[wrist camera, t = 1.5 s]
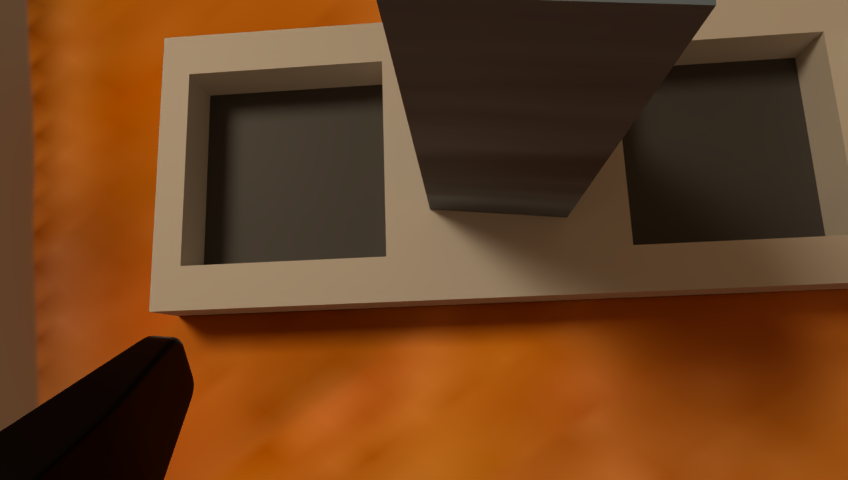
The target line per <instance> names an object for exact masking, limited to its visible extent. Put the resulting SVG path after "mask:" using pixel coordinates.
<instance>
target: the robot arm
mask: <svg viewBox="0 0 848 480" xmlns="http://www.w3.org/2000/svg"><path fill="white" fill-rule="evenodd" d="M193 389H194V382H193V376H192V373H191V370H190V366H189V363H188V360H187V357H186V353H185V350H184V347H183V344H182V342H181V341H180V340H179V339H177V338H175V337H163V336H148V337H146V338H144V339H142V340H140V341H139V342H137V343H136V344H134V345H133V346H131V347H130V348H128V349H127V350H125V351H124V352H122V353H120V354H119V355H117V356H116V357H114V358H113V359H111V360H110V361H108V362H107V363H105V364H103V365H102V366H100V367H99V368H97V369H96V370H94V371H93V372H91V373H90V374H88V375H87V376H85V377H83V378H82V379H80V380H79V381H77V382H76V383H74V384H73V385H71V386H70V387H68V388H66V389H65V390H63V391H62V392H60V393H59V394H57V395H56V396H54V397H53V398H51V399H50V400H48V401H46V402H45V403H43V404H42V405H40V406H39V407H37V408H36V409H34V410H33V411H31V412H30V413H28V414H26V415H25V416H23V417H22V418H20V419H19V420H17V421H16V422H14V423H13V424H11V425H9V426H8V427H6V428H5V429H3V430H2V431H0V480H164V478H165V475H166V472H167V469H168V466H169V463H170V460H171V457H172V454H173V451H174V448H175V445H176V442H177V439H178V437H179V434H180V431H181V428H182V425H183V422H184V419H185V416H186V413H187V410H188V407H189V404H190V401H191V398H192V395H193Z"/></svg>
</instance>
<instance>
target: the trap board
mask: <svg viewBox="0 0 848 480" xmlns="http://www.w3.org/2000/svg"><path fill="white" fill-rule="evenodd" d="M828 289H848V0H716V6H715V8H714V9H713V10H712V12H711V13H710V15H709V16H708V18H707V19H706V20H705V22H704V23H703V25H702V26H701V27H700V29H699V30H698V32H697V33H696V35H695V36H694V37H693V39H692V40H691V42H690V43H689V45H688V46H687V47H686V49H685V50H684V52H683V53H682V55H681V56H680V57H679V59H678V60H677V62H676V63H675V65H674V66H673V67H672V69H671V70H670V72H669V73H668V74H667V76H666V77H665V79H664V80H663V82H662V83H661V84H660V86H659V87H658V89H657V90H656V92H655V93H654V94H653V96H652V97H651V99H650V100H649V102H648V103H647V104H646V106H645V107H644V109H643V110H642V112H641V113H640V114H639V116H638V117H637V119H636V120H635V121H634V123H633V124H632V126H631V127H630V129H629V130H628V131H627V133H626V134H625V136H624V137H623V139H622V140H621V141H620V143H619V144H618V146H617V147H616V149H615V150H614V151H613V153H612V154H611V156H610V157H609V159H608V160H607V161H606V163H605V164H604V166H603V167H602V169H601V170H600V171H599V173H598V174H597V176H596V177H595V178H594V180H593V181H592V183H591V184H590V186H589V187H588V188H587V190H586V191H585V193H584V194H583V196H582V197H581V198H580V200H579V201H578V203H577V204H576V206H575V207H574V208H573V210H572V211H571V213H570V214H569V216H568V217H567V218H566V217H549V216H532V215H515V214H498V213H481V212H465V211H448V210H431V209H430V207H429V203H428V199H427V195H426V192H425V188H424V184H423V180H422V176H421V172H420V168H419V164H418V160H417V156H416V152H415V149H414V145H413V141H412V137H411V133H410V129H409V125H408V121H407V117H406V113H405V109H404V105H403V102H402V98H401V94H400V90H399V86H398V82H397V78H396V74H395V70H394V66H393V62H392V58H391V55H390V51H389V47H388V43H387V39H386V35H385V31H384V27H383V23H368V24H354V25H340V26H326V27H312V28H298V29H285V30H271V31H257V32H243V33H229V34H215V35H201V36H187V37H173V38H165V39H164V57H163V75H162V93H161V111H160V128H159V146H158V164H157V182H156V200H155V217H154V235H153V253H152V271H151V289H150V306H149V312H154V313H161V314H168V315H175V316H189V315H214V314H238V313H263V312H287V311H312V310H336V309H361V308H386V307H410V306H435V305H459V304H484V303H508V302H533V301H557V300H582V299H607V298H631V297H656V296H680V295H705V294H729V293H754V292H778V291H803V290H828Z"/></svg>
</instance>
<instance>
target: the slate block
mask: <svg viewBox="0 0 848 480" xmlns="http://www.w3.org/2000/svg"><path fill="white" fill-rule="evenodd" d="M377 4H378V8H379V12H380V15H381V19H382V23H383V27H384V31H385V35H386V39H387V43H388V47H389V51H390V55H391V58H392V62H393V66H394V70H395V74H396V78H397V82H398V86H399V90H400V94H401V98H402V102H403V105H404V109H405V113H406V117H407V121H408V125H409V129H410V133H411V137H412V141H413V145H414V149H415V152H416V156H417V160H418V164H419V168H420V172H421V176H422V180H423V184H424V188H425V192H426V195H427V199H428V203H429V207H430V209H431V210H448V211H465V212H481V213H498V214H515V215H532V216H549V217H566V218H567V217H568V216H569V214H570V213H571V211H572V210H573V208H574V207H575V206H576V204H577V203H578V201H579V200H580V198H581V197H582V196H583V194H584V193H585V191H586V190H587V188H588V187H589V186H590V184H591V183H592V181H593V180H594V178H595V177H596V176H597V174H598V173H599V171H600V170H601V169H602V167H603V166H604V164H605V163H606V161H607V160H608V159H609V157H610V156H611V154H612V153H613V151H614V150H615V149H616V147H617V146H618V144H619V143H620V141H621V140H622V139H623V137H624V136H625V134H626V133H627V131H628V130H629V129H630V127H631V126H632V124H633V123H634V121H635V120H636V119H637V117H638V116H639V114H640V113H641V112H642V110H643V109H644V107H645V106H646V104H647V103H648V102H649V100H650V99H651V97H652V96H653V94H654V93H655V92H656V90H657V89H658V87H659V86H660V84H661V83H662V82H663V80H664V79H665V77H666V76H667V74H668V73H669V72H670V70H671V69H672V67H673V66H674V65H675V63H676V62H677V60H678V59H679V57H680V56H681V55H682V53H683V52H684V50H685V49H686V47H687V46H688V45H689V43H690V42H691V40H692V39H693V37H694V36H695V35H696V33H697V32H698V30H699V29H700V27H701V26H702V25H703V23H704V22H705V20H706V19H707V18H708V16H709V15H710V13H711V12H712V10H713V9H714V8H715V6H716V0H377Z"/></svg>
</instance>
